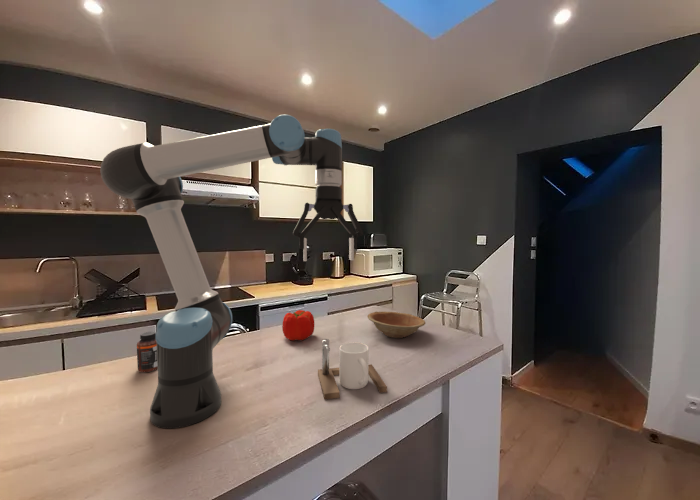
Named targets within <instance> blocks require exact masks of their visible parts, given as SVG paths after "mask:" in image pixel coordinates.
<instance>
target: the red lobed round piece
mask: <svg viewBox="0 0 700 500" xmlns="http://www.w3.org/2000/svg"><path fill="white" fill-rule="evenodd" d="M281 326H282V332H283V336H284V337H285V338H286V339H288V340H289V341H293V342H294V341H304V340H306V339H308V338H309V337H311V336H313V334H314V332H315V318H314V315H313V313H312V312H311V311H308V310H302V309H298V310H296V311H292V312H288V313H285V315H284V316H283V319H282V325H281Z"/></svg>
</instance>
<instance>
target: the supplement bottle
mask: <svg viewBox="0 0 700 500" xmlns="http://www.w3.org/2000/svg"><path fill="white" fill-rule="evenodd" d="M139 339H140V340H138V341H137V342H136V343H137V344H136V357H137V358H136V360H137V371H138V372H139V373H149V372H153V371H156V370H158V367H157V344H156V331H146V332H145V331H144V332H142V333H141V334H140V335H139Z"/></svg>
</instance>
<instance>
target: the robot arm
mask: <svg viewBox="0 0 700 500" xmlns="http://www.w3.org/2000/svg"><path fill="white" fill-rule="evenodd" d="M305 135H306V134H305V131H304V129H303V126H302V124H301V122H300V121H299V120H298V119H297V118H296V117H295V116H293V115H290V114H287V113H284V114H279V115H277V116H276V117H274V118H273V119H272V120H271V122H270V123H267V124H266V123H265V124H262V125H257V126H256V125H255V126H251V127H247V128H242V129H236V130H231V131H226V132H220V133H216V134H209V135H205V136H199V137H195V138H189V139H183V140H179V141H173V142H169V143H163V144H158V145H153V144H151V143H149V142H142V143H137V144H136V143H135V144H130V145H127V146H122V147H119V148H116V149H114V150H112V151H110V152H109V153H107V154H106V156H105V157H104V158H103V160H102V162H101V165H100V169H99V170H100V177H101V180H102V182H103V183H104V185H105V186H106V187H107V188H108V190H110V191H111V193H113V194H115V195H117V196H119V197H122V198H125V199H128V200H131V202H132V204H133V206H134V209H135V211H136V214H138V215H139V216H142V217H144V218H145V219H146V222H147V224H148V227H149V229H150V232H151V234H152V237H153V240H154V241H155V244H156V247H157V249H158V252H159V255H160V257H161V260H162V263H163V265H164V268H165V270H166V272H167V273H166V274H167V276H168V277H169V278H168V279H169V281H170V284H171V286H172V288H173V290H174V293H175V296H176V299H177V303H176V306H174V310H175V311H171V312H169V313H166V314H165V315H163V316H161V318H160V319H159V320H158V322H157V323H156V329H155V330H156V331H155V333H156V344H157V367H158V369H157V386H156V389H155V392H154V396H153V399H152V402H151V405H150V409H149V416H150V417H149V418H150V422H151V424H152V425H153V426H155V427H158V428H163V429H177V428H178V429H180V428H185V427H189V426H192V425H195V424H197V423H200V422H201V421H204V420H206V419H208V418H209V417H211V416H213V414H215V413H216V412H217V411H218V410H219V409H220V407H221V404H222V392H221V389H220V387H219V385H218V382H217V379H216V377H215V374H214V368H213V367H214V366H213V365H214V364H213V363H214V361H213V357H214V356H213V350H214V348H215V347H216V346H217V345H218V344H219V343H220V342H221V341H222V340H223V339H224V338H225V337H226V336H227V335H228V333H229V331H230V329H231V327H232V324H233V313H232V310H231V308H230V307H229V306H228V304H226V302H224V301H222V299H221V297H220V294H219V292H218V291H216V290H214V289H212V288H211V286H210V284H209V280H208V279H207V276H206V273H205V271H204V268H203V265H202V263H201V259H200V258H199V255H198V251H197V249H196V247H195V244H194V242H193V239H192V237H191V234H190V231H189V228H188V226H187V223H186V220H185V217H184V215H183V212H182V208H183V206H184V204H185V201H184V198H183V196H182V193H183V192H184V191H183V190H184V184H183V180H182V178H181V177H184V176H185V177H186V176H189V175H194V174H199V173H203V172H209V171H214V170H218V169H223V168H227V167H232V166H237V165H242V164H247V163H252V162H256V161H261V160H267V159H270V158H271V160H272V162H273V164H275V165H283V166H314V167H315V174H314V175H315V179H314V180H315V181H314V182H315V185H316V187H315V192H314V193H315V196H314V197H315V203H313V204H312V203H309V202H305V203H304V206H303V212H302V214H301V216H300V218H299V220H298V221H297V224H296V226H295V228H294V229H293V232H292V235H293V236H295V237H298V239H299V242H298V243H299V249H300V250H303V251H302V252H303V257H302V258H303V262H307V261H308V260H307V259H308V257H307V256H308V255H307V254H308V253H307V251H308V249H307V248H308V247H307V244H308V242H307V241H308V239H307V238H306V237H305V236H306V235H307V234H308V233H309V231H310V230H311V229H312V228H313V227H314V225H315V224H317V222H318V221H319V220H320V219H322V220H327V219H328V220H337V221H338V222H339V223H340V224H341V225H342V226H343V227H344V229H345V230H346V231H347V232H348V233H349V235H350V236H351V237H349V238H348V246H349V248H348V253H349V254H348V258H349V259H348V260H350V261H354V257H355V255H354V254H355V251H354V250H356V249H358V238H359V237H362V236H364V231H363V229H362V227H361V225H360V223H359V221H358V218H357V217H356V215H355V212H354V206H353V204H352V203H348V204H343V202H342V201H343V200H342V199H343V196H342V193H343V191H342V190H343V189H342V187H341V186H342V184H343V183H342V181H343V180H342V177H343V175H342V170H343V165H342V162H343V161H342V160H343V156H342V155H343V146H342V145H343V144H342V143H343V142H342V134H341V133H340V131H339V130H336V129H333V128H319V129H317V130H316V131H315V134H314V136H312V137H307V136H305ZM312 209H314V211H315V212H316V214H315V215H314V217H313V218H311V221H309V222H308V224H307V225H306V227H305V228H304V229H303V230H302V231H301V232H300V230H301V227H302V226H303V224H304V222H305V220H306V218H307V216H308V214H309V212H311V211H312ZM343 210H344V211H345V212H346V213H347V215H348V217H349V220H350V221H351V223H352V225H353V227H354V229H353V228H352V226H351V225H350V224H349V223H348V222H347V220H346V219H345V218H344V216H343V215H342V214H341V213H342V211H343Z"/></svg>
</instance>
